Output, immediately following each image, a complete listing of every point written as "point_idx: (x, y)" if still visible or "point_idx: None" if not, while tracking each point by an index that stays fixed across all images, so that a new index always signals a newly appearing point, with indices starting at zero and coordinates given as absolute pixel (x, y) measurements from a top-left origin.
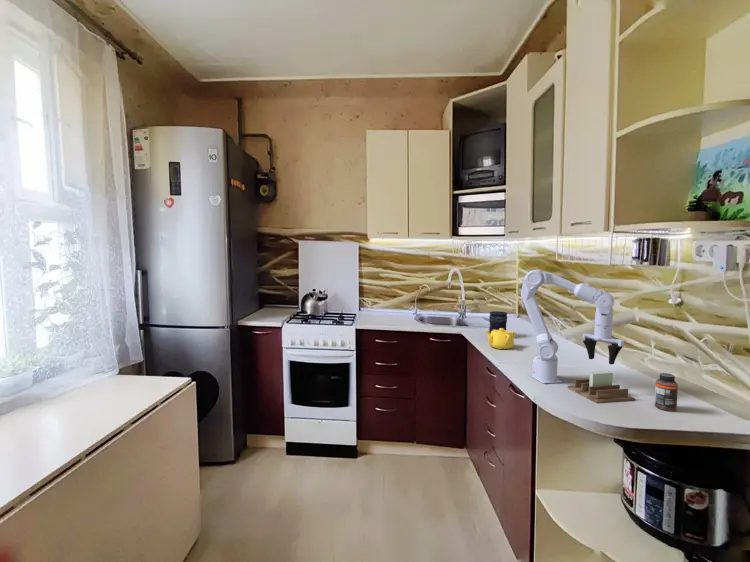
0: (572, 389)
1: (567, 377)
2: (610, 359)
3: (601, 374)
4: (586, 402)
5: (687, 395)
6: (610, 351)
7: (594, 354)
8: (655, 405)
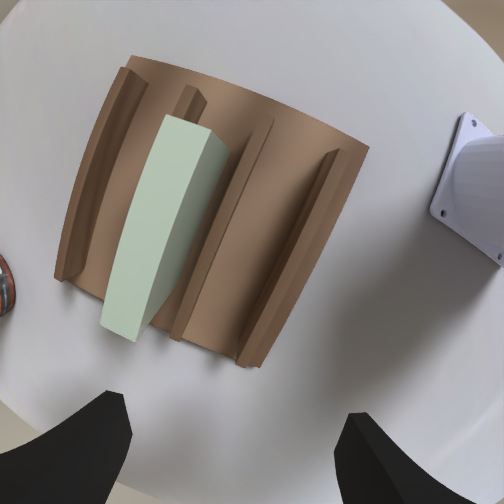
0: (326, 125)
1: (437, 328)
2: (76, 418)
3: (131, 210)
4: (172, 26)
5: None
6: (9, 479)
7: (340, 489)
8: (1, 259)
